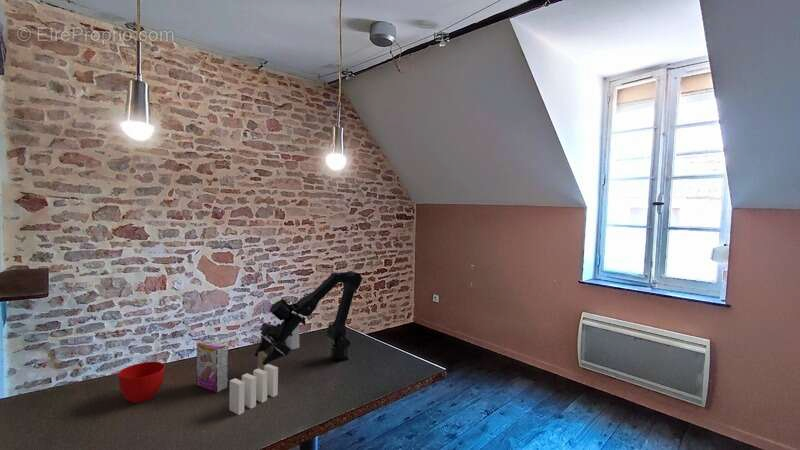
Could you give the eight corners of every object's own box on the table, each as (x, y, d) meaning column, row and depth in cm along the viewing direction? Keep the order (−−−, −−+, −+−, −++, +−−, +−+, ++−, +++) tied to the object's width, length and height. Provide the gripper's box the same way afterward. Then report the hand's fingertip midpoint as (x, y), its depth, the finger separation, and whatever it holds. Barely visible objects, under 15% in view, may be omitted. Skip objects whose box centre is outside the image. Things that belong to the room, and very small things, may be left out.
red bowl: (157, 381, 138) (157, 355, 138) (168, 399, 126) (168, 370, 126) (114, 392, 129) (114, 364, 129) (121, 413, 117) (121, 382, 117)
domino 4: (257, 395, 131) (258, 368, 130) (267, 400, 128) (267, 372, 127) (252, 398, 129) (253, 370, 128) (262, 402, 126) (262, 374, 126)
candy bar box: (195, 386, 136) (195, 342, 135) (207, 380, 140) (207, 338, 139) (216, 393, 131) (217, 348, 130) (228, 387, 135) (228, 344, 135)
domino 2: (246, 401, 127) (246, 373, 126) (256, 405, 124) (256, 377, 124) (241, 403, 125) (241, 375, 124) (250, 408, 122) (251, 379, 122)
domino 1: (234, 407, 123) (235, 378, 122) (244, 412, 120) (244, 382, 120) (229, 410, 121) (229, 380, 121) (238, 414, 119) (239, 384, 118)
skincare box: (299, 347, 174) (300, 322, 174) (290, 350, 172) (291, 324, 171) (294, 343, 179) (294, 319, 179) (285, 345, 176) (285, 321, 176)
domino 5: (268, 390, 134) (268, 363, 134) (277, 394, 132) (278, 367, 131) (263, 392, 133) (264, 365, 132) (272, 397, 130) (273, 369, 130)
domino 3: (262, 375, 146) (263, 351, 145) (267, 380, 142) (267, 355, 141) (257, 377, 144) (258, 352, 144) (261, 382, 140) (262, 356, 140)
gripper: (265, 309, 151) (237, 341, 145) (282, 321, 137) (251, 357, 131) (284, 324, 157) (257, 356, 151) (302, 338, 142) (273, 373, 136)
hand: (259, 360), depth 142 cm, fingers open, 9 cm apart
